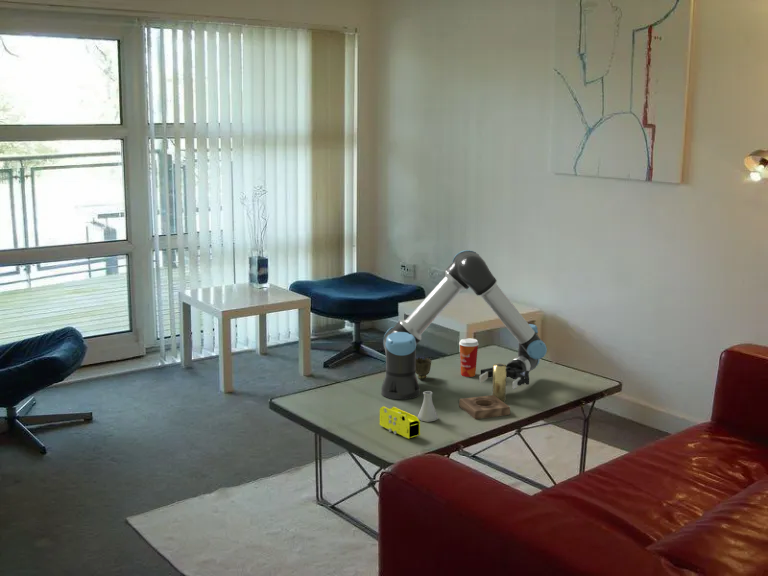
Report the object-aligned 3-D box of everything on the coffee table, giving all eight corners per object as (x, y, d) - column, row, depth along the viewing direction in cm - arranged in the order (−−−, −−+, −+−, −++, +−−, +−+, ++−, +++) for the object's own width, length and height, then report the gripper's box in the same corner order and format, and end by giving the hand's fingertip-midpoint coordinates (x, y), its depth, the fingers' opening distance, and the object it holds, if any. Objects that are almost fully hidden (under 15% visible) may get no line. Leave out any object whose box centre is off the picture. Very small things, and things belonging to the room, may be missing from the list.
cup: (432, 376, 354) (433, 358, 352) (429, 381, 347) (429, 363, 346) (415, 374, 356) (415, 356, 354) (411, 380, 349) (411, 361, 347)
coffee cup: (454, 373, 358) (455, 339, 355) (471, 370, 361) (472, 337, 358) (464, 379, 351) (465, 344, 348) (481, 376, 354) (482, 342, 351)
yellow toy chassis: (378, 427, 298) (378, 405, 296) (391, 423, 302) (391, 401, 300) (407, 441, 286) (408, 418, 284) (420, 437, 289) (420, 414, 288)
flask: (413, 418, 306) (413, 392, 304) (427, 413, 311) (427, 387, 309) (428, 423, 301) (428, 397, 299) (441, 418, 306) (442, 392, 304)
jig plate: (475, 419, 306) (475, 411, 305) (459, 406, 319) (459, 398, 318) (509, 414, 310) (510, 407, 309) (493, 402, 323) (493, 394, 322)
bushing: (495, 402, 323) (496, 367, 320) (490, 398, 327) (491, 363, 324) (507, 401, 324) (508, 366, 321) (501, 397, 329) (502, 362, 326)
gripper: (547, 382, 334) (526, 397, 316) (489, 372, 346) (466, 386, 329) (547, 364, 332) (527, 378, 314) (489, 354, 345) (466, 367, 327)
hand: (496, 382), depth 321 cm, fingers open, 13 cm apart
